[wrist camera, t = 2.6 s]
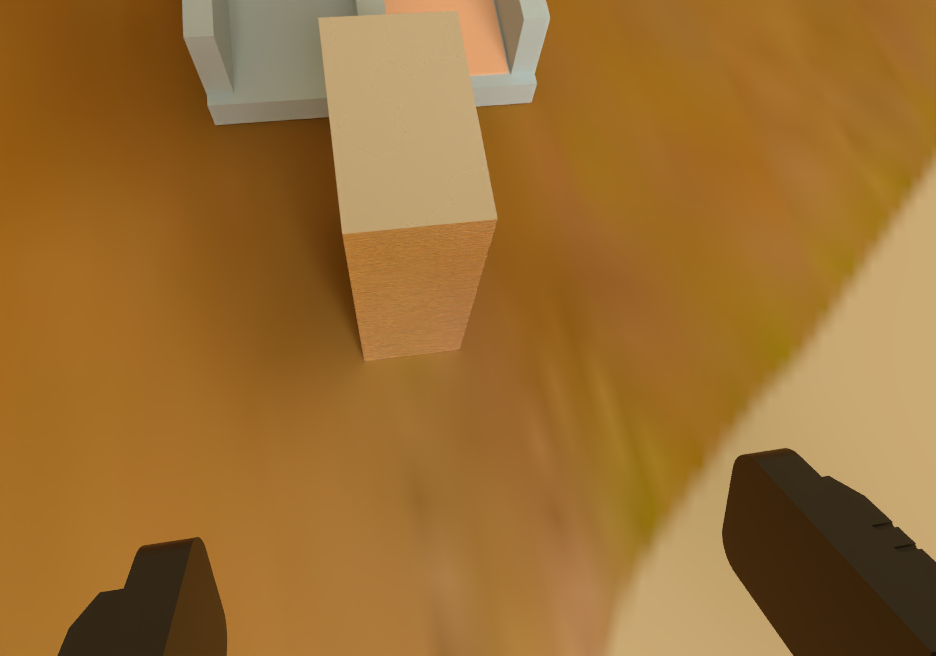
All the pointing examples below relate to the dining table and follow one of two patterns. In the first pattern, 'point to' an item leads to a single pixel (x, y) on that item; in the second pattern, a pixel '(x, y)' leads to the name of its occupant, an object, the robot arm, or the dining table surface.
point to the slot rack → (301, 63)
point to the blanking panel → (407, 177)
